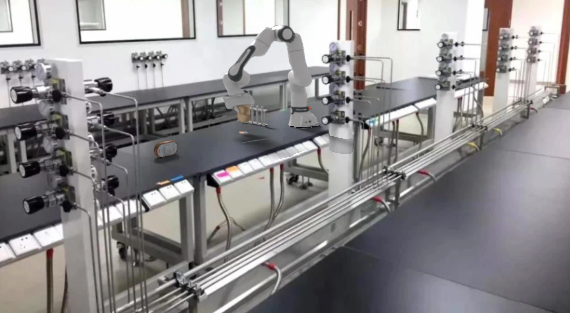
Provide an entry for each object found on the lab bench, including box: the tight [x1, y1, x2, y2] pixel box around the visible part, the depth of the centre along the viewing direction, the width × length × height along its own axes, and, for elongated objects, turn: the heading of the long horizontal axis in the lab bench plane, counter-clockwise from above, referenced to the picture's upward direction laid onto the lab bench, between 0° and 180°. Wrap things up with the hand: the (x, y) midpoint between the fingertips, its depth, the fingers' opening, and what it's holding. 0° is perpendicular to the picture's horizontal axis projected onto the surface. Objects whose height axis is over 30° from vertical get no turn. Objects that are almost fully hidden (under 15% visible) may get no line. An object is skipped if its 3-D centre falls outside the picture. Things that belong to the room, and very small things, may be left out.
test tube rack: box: [236, 105, 269, 127], centre depth 366 cm, size 25×4×13 cm, turn 53°
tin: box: [153, 139, 179, 158], centre depth 281 cm, size 15×3×8 cm, turn 141°
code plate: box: [238, 130, 249, 134], centre depth 335 cm, size 21×14×1 cm, turn 112°
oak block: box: [236, 105, 251, 123], centre depth 332 cm, size 6×6×10 cm
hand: (244, 112), depth 332 cm, fingers closed on oak block, 6 cm apart
